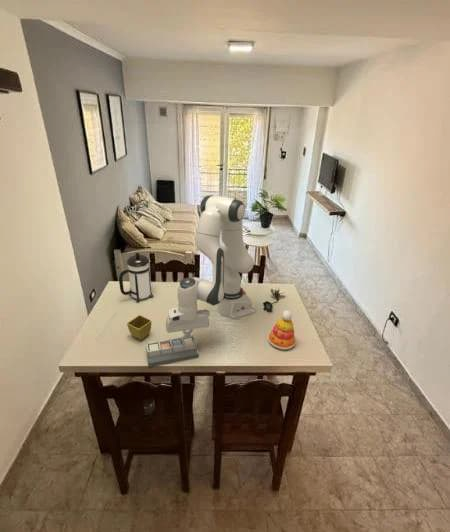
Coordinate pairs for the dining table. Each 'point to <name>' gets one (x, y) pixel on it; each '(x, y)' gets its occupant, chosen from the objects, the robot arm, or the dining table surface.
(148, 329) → the flower pot
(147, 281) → the coffee press
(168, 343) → the key terracotta
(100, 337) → the butter knife
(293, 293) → the dining table surface
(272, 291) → the artificial flower
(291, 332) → the stacking toy
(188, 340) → the key ivory
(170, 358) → the keypad
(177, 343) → the key slate
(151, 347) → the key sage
